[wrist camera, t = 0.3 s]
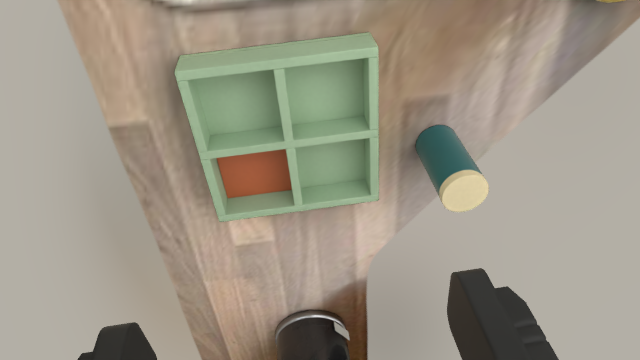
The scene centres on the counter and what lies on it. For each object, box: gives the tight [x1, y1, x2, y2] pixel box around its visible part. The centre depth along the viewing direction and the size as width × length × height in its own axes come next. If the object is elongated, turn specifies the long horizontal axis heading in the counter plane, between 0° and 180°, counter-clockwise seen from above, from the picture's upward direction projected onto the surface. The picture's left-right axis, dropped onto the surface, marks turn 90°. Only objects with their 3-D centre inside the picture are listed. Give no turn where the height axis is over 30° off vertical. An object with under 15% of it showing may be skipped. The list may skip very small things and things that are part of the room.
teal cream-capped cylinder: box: [416, 125, 489, 212], centre depth 41 cm, size 4×4×8 cm
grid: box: [174, 32, 379, 222], centre depth 40 cm, size 15×15×3 cm
